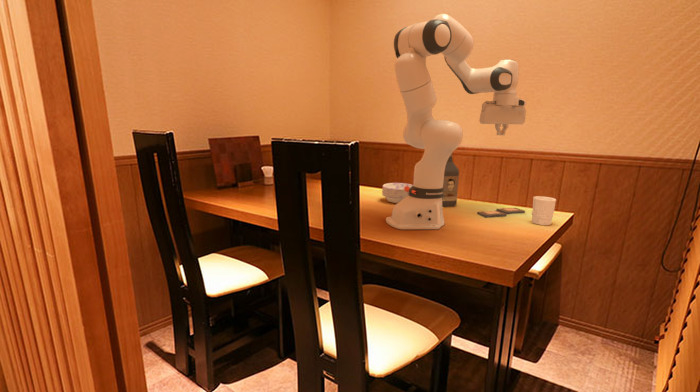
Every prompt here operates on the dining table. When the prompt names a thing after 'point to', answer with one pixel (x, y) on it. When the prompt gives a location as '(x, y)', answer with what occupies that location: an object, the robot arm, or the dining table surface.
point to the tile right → (510, 210)
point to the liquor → (450, 183)
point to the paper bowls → (395, 191)
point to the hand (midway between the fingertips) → (500, 135)
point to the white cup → (543, 210)
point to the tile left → (491, 214)
